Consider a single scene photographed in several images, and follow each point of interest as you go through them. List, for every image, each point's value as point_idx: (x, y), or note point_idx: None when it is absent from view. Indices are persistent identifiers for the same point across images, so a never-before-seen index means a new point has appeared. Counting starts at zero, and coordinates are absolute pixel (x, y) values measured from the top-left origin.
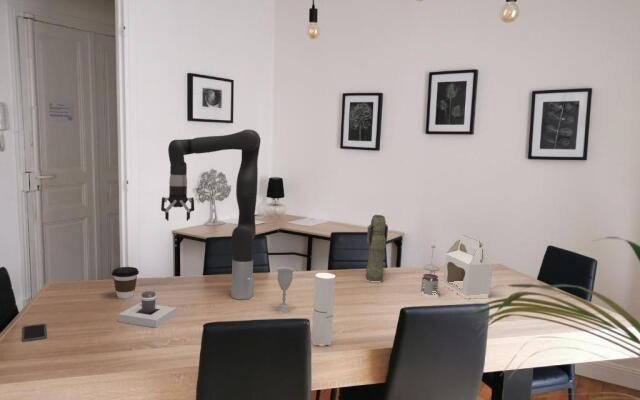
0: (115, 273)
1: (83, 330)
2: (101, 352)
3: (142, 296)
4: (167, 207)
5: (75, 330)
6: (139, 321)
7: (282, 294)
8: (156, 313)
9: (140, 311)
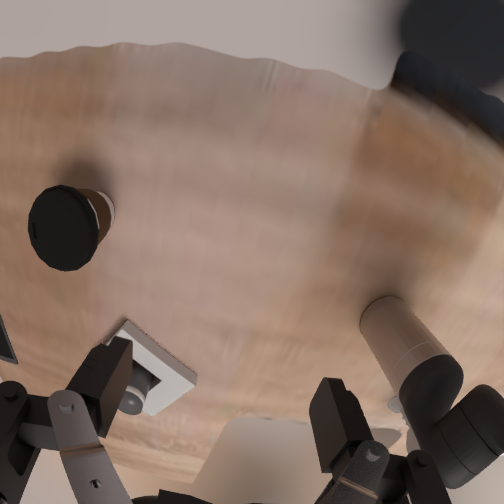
0: (36, 249)
1: (50, 363)
2: None
3: None
4: (61, 447)
5: (40, 358)
6: None
7: (406, 423)
8: (153, 394)
9: None
